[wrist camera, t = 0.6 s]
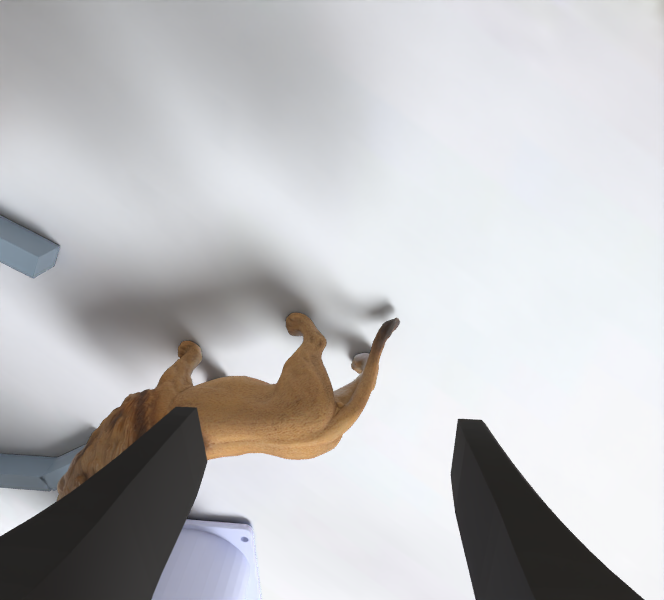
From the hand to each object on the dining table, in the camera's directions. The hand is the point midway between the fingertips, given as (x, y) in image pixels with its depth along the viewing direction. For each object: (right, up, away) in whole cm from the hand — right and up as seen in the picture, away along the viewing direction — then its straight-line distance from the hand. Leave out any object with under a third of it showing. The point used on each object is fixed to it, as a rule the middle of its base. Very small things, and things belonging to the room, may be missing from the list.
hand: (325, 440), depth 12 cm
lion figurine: (-4, +1, +11) cm, 12 cm away
